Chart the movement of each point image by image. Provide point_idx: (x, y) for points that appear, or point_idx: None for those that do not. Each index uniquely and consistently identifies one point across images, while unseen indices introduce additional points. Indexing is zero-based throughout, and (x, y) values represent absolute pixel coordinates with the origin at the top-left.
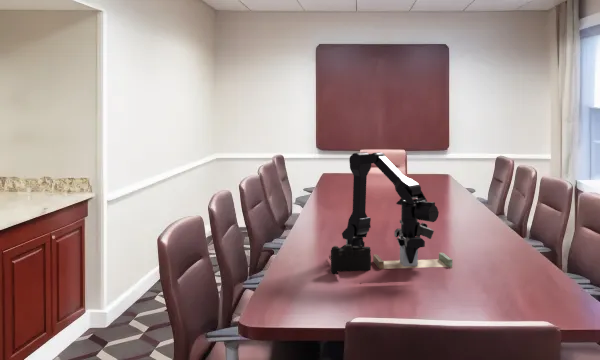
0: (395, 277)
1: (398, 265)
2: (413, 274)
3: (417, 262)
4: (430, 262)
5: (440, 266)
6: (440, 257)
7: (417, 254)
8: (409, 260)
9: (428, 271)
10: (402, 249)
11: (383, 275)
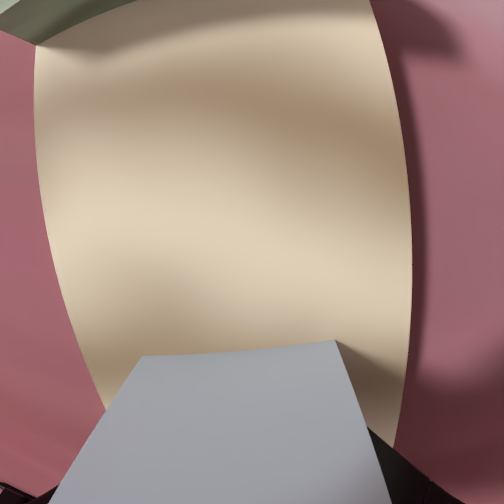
0: (491, 450)
1: None
2: (488, 365)
3: (341, 364)
4: (156, 136)
5: (364, 43)
6: (60, 9)
7: (375, 454)
8: None
9: (440, 218)
10: None
11: None
